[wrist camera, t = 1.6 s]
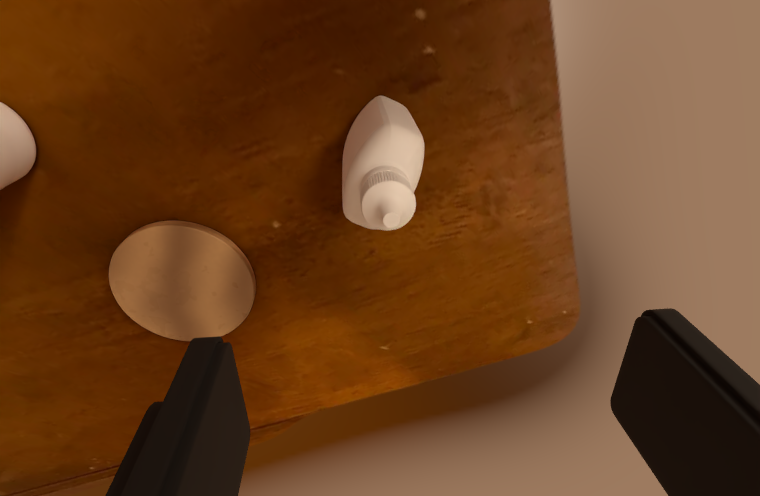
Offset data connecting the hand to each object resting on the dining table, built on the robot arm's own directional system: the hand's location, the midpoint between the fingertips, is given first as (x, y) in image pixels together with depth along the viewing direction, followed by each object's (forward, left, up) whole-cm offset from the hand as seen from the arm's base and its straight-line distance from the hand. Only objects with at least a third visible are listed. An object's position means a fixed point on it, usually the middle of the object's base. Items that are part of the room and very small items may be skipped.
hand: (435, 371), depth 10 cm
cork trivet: (+14, +10, -21) cm, 27 cm away
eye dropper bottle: (0, 0, -21) cm, 21 cm away
